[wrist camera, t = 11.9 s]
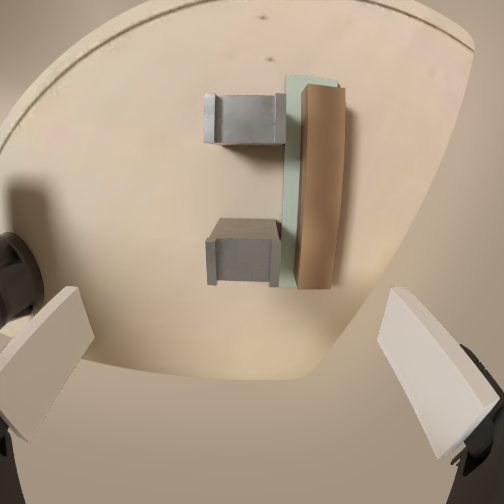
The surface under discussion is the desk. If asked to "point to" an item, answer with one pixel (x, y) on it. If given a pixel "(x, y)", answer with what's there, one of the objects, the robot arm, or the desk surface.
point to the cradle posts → (244, 230)
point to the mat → (293, 172)
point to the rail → (319, 185)
